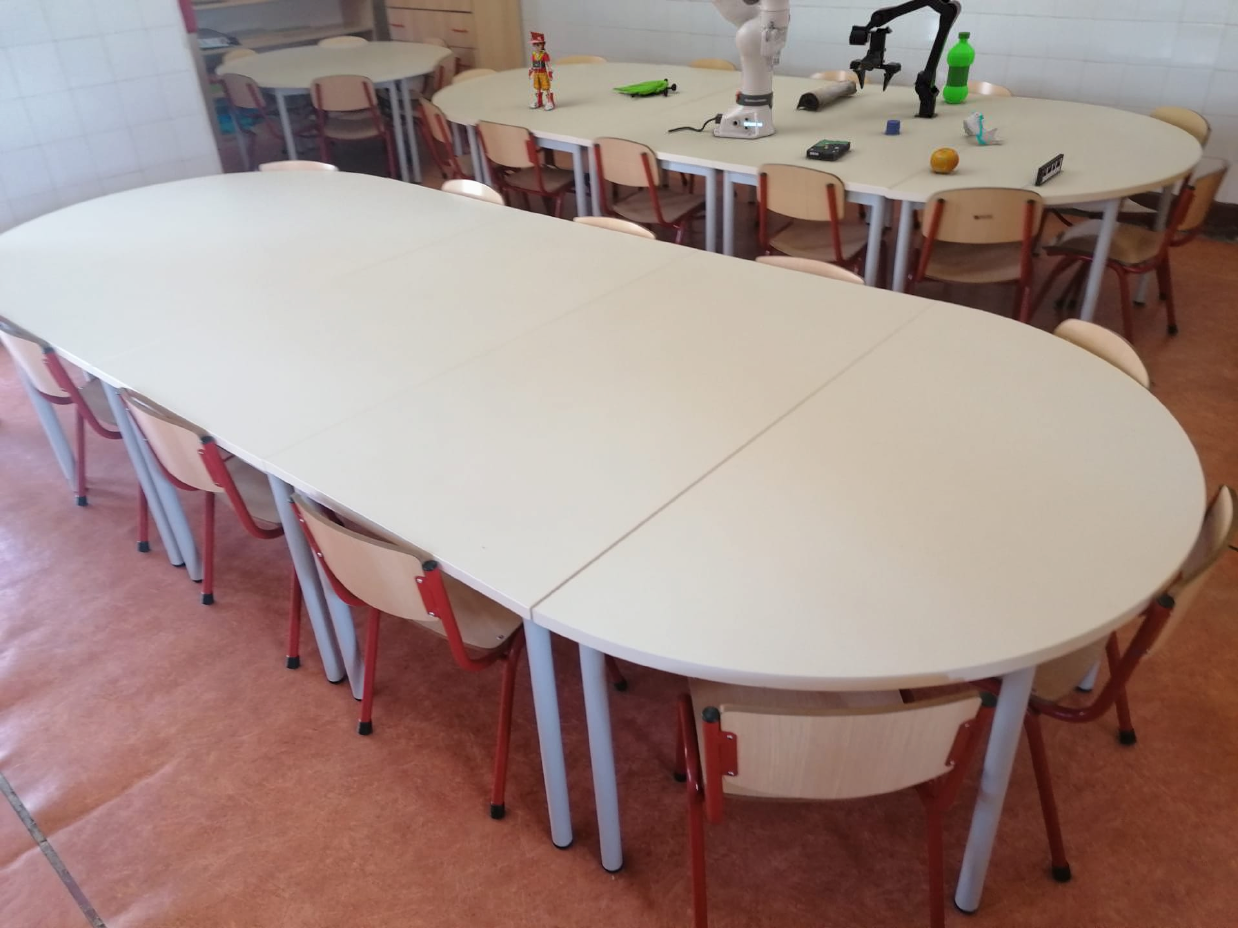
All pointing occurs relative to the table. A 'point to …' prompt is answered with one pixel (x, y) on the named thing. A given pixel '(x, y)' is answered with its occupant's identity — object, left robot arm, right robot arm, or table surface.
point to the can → (893, 127)
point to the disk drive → (828, 149)
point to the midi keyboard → (1049, 169)
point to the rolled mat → (826, 94)
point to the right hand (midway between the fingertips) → (872, 90)
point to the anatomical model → (979, 129)
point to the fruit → (944, 160)
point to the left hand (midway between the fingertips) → (772, 68)
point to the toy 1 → (541, 71)
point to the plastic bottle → (958, 69)
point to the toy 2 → (648, 88)
